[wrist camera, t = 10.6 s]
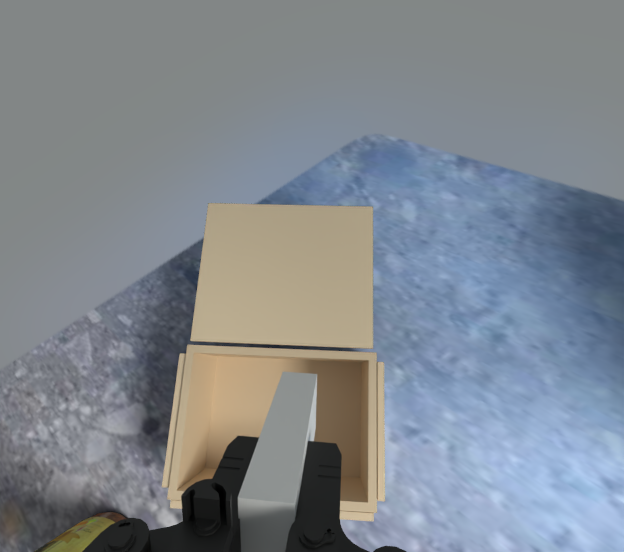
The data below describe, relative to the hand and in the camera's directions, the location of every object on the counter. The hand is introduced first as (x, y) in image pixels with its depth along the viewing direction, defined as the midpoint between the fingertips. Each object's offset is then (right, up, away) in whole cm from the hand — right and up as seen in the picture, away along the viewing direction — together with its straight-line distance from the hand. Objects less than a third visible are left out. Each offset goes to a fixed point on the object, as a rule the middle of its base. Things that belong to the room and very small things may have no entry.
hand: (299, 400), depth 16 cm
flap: (-2, 0, +13) cm, 13 cm away
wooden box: (-2, -7, +18) cm, 20 cm away
